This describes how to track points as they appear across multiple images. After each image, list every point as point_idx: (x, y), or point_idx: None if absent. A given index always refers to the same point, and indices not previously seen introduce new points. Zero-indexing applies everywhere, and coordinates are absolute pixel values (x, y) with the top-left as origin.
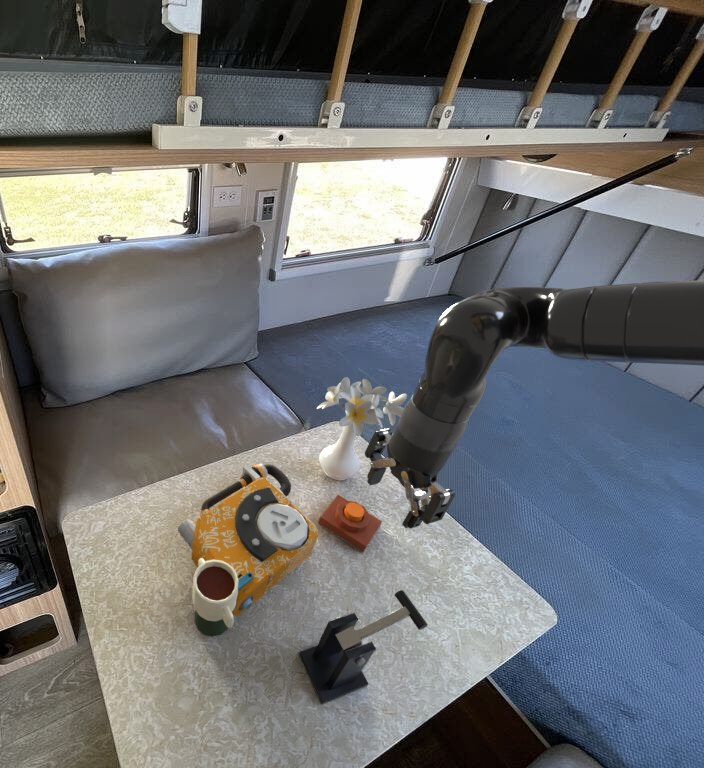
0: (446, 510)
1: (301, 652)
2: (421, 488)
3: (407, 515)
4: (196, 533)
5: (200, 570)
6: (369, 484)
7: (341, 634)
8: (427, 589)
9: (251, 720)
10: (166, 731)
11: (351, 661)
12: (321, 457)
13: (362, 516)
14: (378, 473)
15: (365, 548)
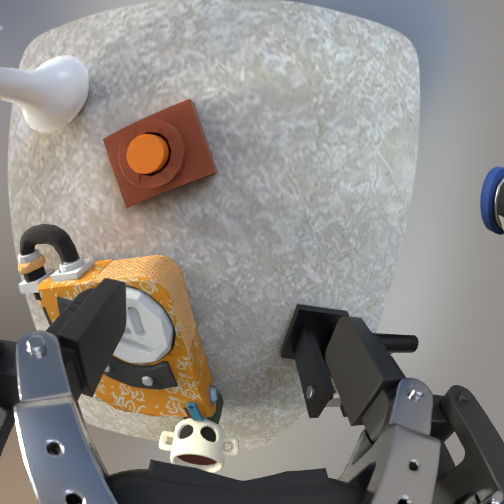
0: (497, 437)
1: (283, 356)
2: (376, 465)
3: (344, 403)
4: (116, 407)
5: (178, 461)
6: (123, 332)
7: (327, 404)
8: (321, 129)
9: (294, 401)
10: (262, 436)
11: None
12: (33, 128)
13: (164, 148)
14: (96, 359)
15: (215, 169)
